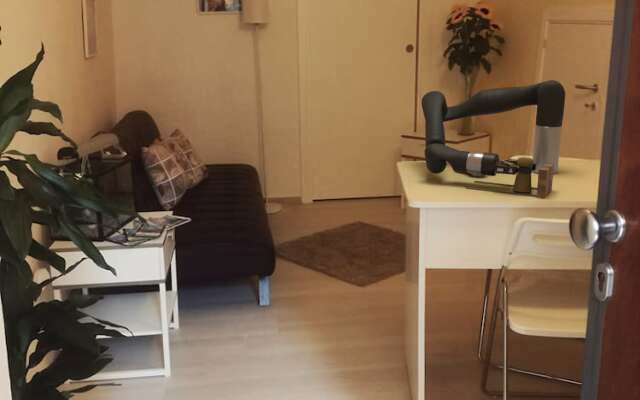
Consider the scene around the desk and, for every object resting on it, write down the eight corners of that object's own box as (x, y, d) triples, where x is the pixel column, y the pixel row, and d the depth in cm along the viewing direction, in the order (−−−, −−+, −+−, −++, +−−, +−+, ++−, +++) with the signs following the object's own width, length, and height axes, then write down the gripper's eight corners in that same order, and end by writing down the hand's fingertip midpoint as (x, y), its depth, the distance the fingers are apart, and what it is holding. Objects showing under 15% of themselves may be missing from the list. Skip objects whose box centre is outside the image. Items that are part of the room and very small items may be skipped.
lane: (475, 181, 247) (476, 155, 245) (551, 190, 236) (554, 163, 233) (465, 188, 237) (466, 162, 235) (544, 198, 225) (547, 170, 223)
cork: (532, 192, 229) (536, 158, 227) (513, 191, 230) (516, 157, 229) (530, 190, 235) (534, 157, 233) (511, 189, 236) (515, 156, 234)
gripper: (487, 170, 245) (537, 176, 238) (475, 178, 233) (528, 185, 226) (489, 149, 244) (539, 154, 236) (477, 156, 231) (530, 161, 224)
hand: (533, 169), depth 231 cm, fingers open, 6 cm apart
